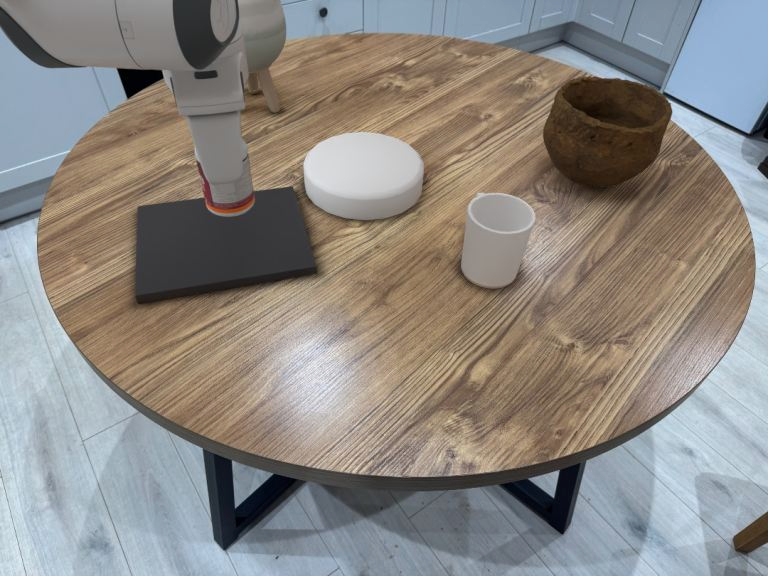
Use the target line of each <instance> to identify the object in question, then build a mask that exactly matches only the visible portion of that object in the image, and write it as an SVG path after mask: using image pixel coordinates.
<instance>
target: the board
mask: <svg viewBox="0 0 768 576" xmlns="http://www.w3.org/2000/svg"><path fill="white" fill-rule="evenodd" d="M254 197H255V201H254V204H253V206H252V207H251V209H249V210H248V211H247V212H245V213H243V214H241V215H238V216H232V217H225V216H219V215H216V214H214V213H212V212H211V211H209V210H208V208H207V206H206V202H205V198H204V197H198V198H197V197H196V198H191V199H183V200H176V201H168V202H167V201H166V202H159V203H151V204H144V205H137V209H136V210H137V213H136V248H135V277H134V278H135V280H134V281H135V282H134V297H135V300H136V302H137V304H142V303H149V302H154V301H155V302H156V301H161V300H167V299H173V298H179V297H180V298H181V297H185V296H191V295H197V294H204V293H210V292H216V291H221V290H228V289H234V288H240V287H245V286H251V285H252V286H253V285H258V284H264V283H270V282H276V281H282V280H288V279H294V278H301V277H305V276H313V275H317V274H318V266H317V262H316V258H315V255H314V252H313V249H312V246H311V243H310V238H309V235H308V232H307V228H306V226H305V222H304V219H303V216H302V212H301V209H300V206H299V205H300V204H299V202H298V199H297V195H296V192H295V188H294V186H292V185H291V186H284V187H276V188H269V189H261V190H254Z"/></svg>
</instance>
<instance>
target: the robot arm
mask: <svg viewBox="0 0 768 576" xmlns="http://www.w3.org/2000/svg"><path fill="white" fill-rule="evenodd" d="M0 29H1V31H2V32H3V34H4V35H5V36H6V38H7V39H8V40H9V41H10V42H11V43H12V45H13V46H14V47H16V49H17V50H18V51H19V52H21V54H22V55H24V56H25V57H26V58H28V59H29V60H30V61H31V62H33V63H34V64H36V65H38V66H40V67H42V68H46V69H75V68H76V69H77V68H78V69H79V68H88V67H90V68H107V69H126V70H143V71H145V70H147V71H148V70H154V71H161V72H162V75H163V80H164V83H165V85H166V86H167V87H168V88H169V90H170V92H171V94H172V95H173V97H174V101H175V105H176V109H177V112H178V114H179V115H180V116H181V117H185V119H186V124H187V126H188V131H189V133H190V136H191V139H192V143H193V146H194V150H195V149H196V152H197V155H198V158H199V161H200V164H201V167H202V170H203V173H204V175H205V177H206V179H207V181H208V182H209V183H210V184H211V185H219V189H220V192H221V193H222V194H229V193H234V192H235V190H236V189H235V183H234V182H239V181H240V180H241V179H242V174H243V157H242V139H243V134H242V118H241V117H242V115H241V111H244V110H245V108H246V104H245V103H246V99H245V89H246V86H247V83H246V80H247V79H248V76H249V72H248V64H247V57H246V49H245V42H244V34H243V27H242V24H241V22H240V19H239V6H238V0H0Z"/></svg>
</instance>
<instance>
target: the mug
mask: <svg viewBox="0 0 768 576" xmlns="http://www.w3.org/2000/svg"><path fill="white" fill-rule="evenodd" d="M535 222H536V213H535V211H534V209H533V207H532V206H531V204H528V203H527V201H525V200H523V199H521V198H519V197H517V196H515V195H511V194H508V193H503V192H487V193H485V192H478V193H475V196H474V198H472V199H471V200H470V202H469V203H468V206H467V209H466V217H465V227H464V234H463V244H462V251H461V252H462V253H461V261H460V269H461V272H462V274H463V276H464V277H465V278H466V279H467V280H468V281H469V282H470V283H472V284H473V285H475V286H478V287H480V288H483V289H489V290H491V289H492V290H495V289H502V288H505V287H507V286H509V285H510V284H512V283H513V282H514V281H515V280H516V278H517V275H518V272H519V270H520V267H521V263H522V260H523V258H524V255H525V252H526V249H527V246H528V243H529V240H530V237H531V235H532V232H533V228H534V225H535Z"/></svg>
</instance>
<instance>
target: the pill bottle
mask: <svg viewBox="0 0 768 576" xmlns="http://www.w3.org/2000/svg"><path fill="white" fill-rule="evenodd" d="M194 156H195V157H194V158H195V160H196V165H197V169H198V174H199V179H200V184H201V188H202V193H203V198H205V202H206V206H207V208H208V210H209V211H211V212H212V213H214V214H216V215H219V216H225V217H232V216H238V215H241V214H243V213H245V212H247V211H248V210H249V209H251V207H252V206H253V204H254V201H255V197H254V191H255V190H254V184H253V178H252V171H251V164H250V157H249V149H248V145H247V142H246V141H245V140H244V139H243V138H242V157H243V174H242V179H241V180H240V181H239V182H234V183H235V189H236V190H235V192H234V193H229V194H222V193H221V192H220V189H219V185H211V184H210V183H209V182H208V181H207V179H206V177H205V175H204V173H203V170H202V167H201V164H200V161H199V158H198V155H197V152H196V149H195V148H194Z"/></svg>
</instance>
